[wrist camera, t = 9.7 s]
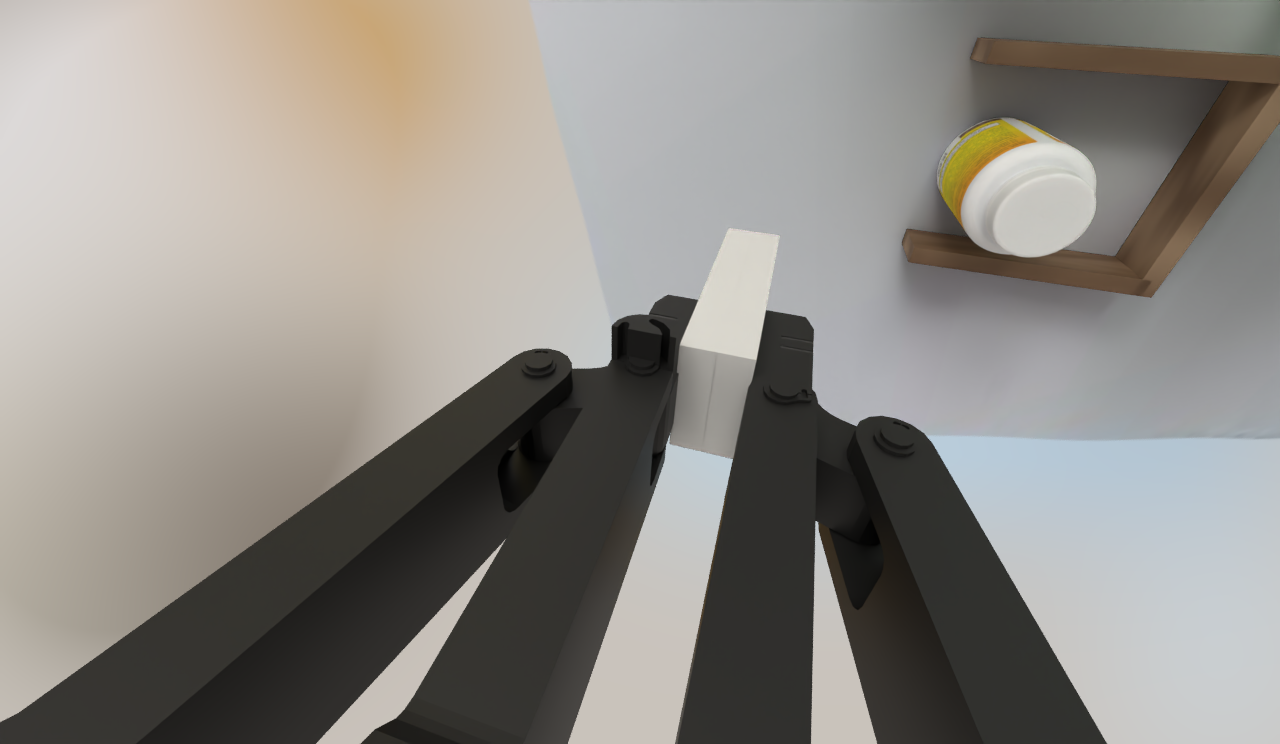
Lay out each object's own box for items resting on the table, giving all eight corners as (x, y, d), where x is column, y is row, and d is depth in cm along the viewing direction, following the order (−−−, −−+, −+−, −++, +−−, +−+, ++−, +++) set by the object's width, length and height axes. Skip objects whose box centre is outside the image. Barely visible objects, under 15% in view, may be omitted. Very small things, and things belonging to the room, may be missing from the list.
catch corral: (977, 37, 28) (994, 40, 25) (1270, 55, 25) (1324, 60, 23) (901, 242, 35) (908, 262, 32) (1123, 273, 32) (1151, 297, 30)
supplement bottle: (920, 201, 33) (951, 262, 25) (958, 109, 30) (1008, 145, 22) (1011, 216, 32) (1073, 283, 24) (1061, 122, 29) (1152, 164, 21)
